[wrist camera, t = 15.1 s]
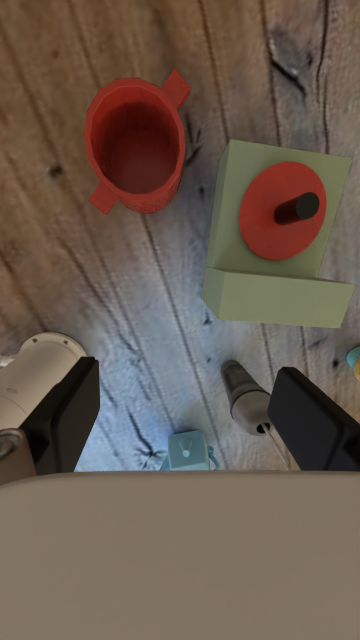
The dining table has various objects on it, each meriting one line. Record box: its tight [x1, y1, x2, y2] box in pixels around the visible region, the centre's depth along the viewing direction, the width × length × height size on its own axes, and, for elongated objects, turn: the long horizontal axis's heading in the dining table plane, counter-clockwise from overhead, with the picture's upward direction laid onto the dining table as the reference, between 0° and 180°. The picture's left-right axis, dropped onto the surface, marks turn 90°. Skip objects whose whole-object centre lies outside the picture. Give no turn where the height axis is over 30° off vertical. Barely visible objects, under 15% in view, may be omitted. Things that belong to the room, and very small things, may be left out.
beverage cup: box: [221, 360, 289, 465], centre depth 34 cm, size 7×7×20 cm
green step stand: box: [201, 139, 356, 328], centre depth 29 cm, size 22×17×13 cm
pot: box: [84, 68, 191, 215], centre depth 27 cm, size 11×17×8 cm
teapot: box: [159, 430, 220, 471], centre depth 44 cm, size 18×14×10 cm
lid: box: [239, 161, 327, 260], centre depth 26 cm, size 12×12×6 cm
